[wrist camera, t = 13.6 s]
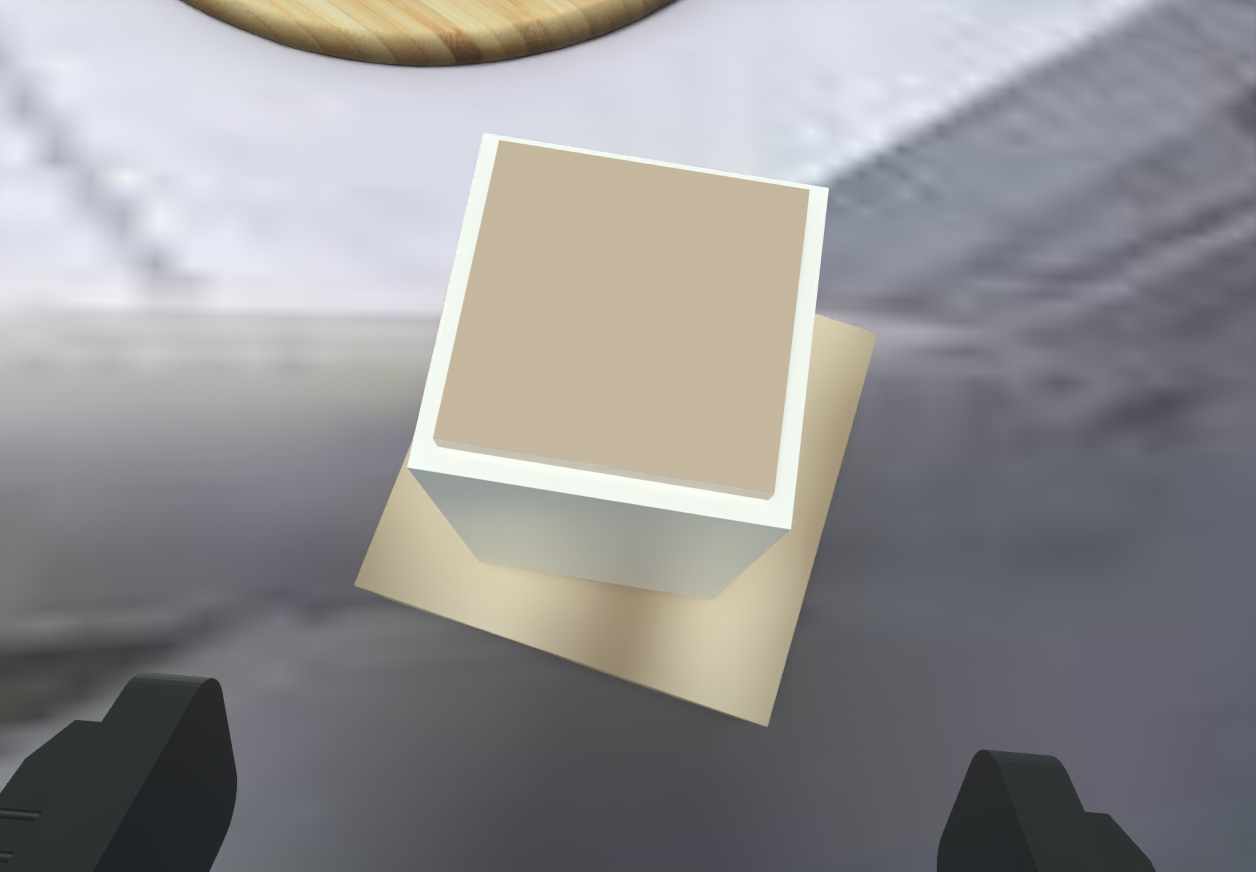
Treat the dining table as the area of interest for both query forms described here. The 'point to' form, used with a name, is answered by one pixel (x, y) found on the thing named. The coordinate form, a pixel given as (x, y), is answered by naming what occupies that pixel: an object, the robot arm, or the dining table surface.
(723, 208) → the white square container
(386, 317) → the dining table surface
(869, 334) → the pale gold metal block
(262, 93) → the dining table surface
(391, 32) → the wooden plate with food
